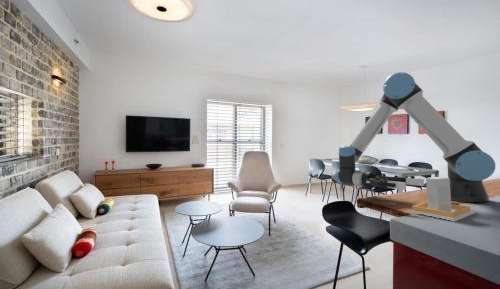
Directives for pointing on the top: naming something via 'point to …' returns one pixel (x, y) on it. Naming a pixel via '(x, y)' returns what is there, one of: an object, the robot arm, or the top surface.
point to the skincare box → (438, 193)
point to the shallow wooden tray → (453, 215)
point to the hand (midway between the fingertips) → (414, 184)
